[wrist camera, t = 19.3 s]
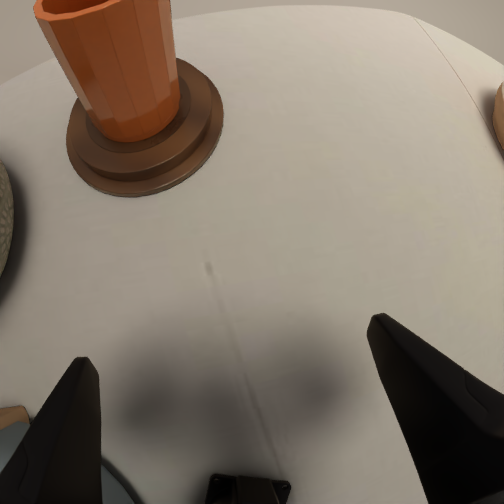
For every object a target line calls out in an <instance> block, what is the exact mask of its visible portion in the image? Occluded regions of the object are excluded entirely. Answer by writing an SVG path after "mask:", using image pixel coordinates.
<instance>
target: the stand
mask: <svg viewBox="0 0 504 504" xmlns="http://www.w3.org/2000/svg"><path fill="white" fill-rule="evenodd" d="M176 62H177V70H178V78H179V87H180V95H181V101H180V106H179V109H178V112H177V114H176V115H175V117H174V118H173V120H172V121H171V122H170V123H169V124H168V125H167V126H166V127H165V128H164V129H163V130H161V131H160V132H159V133H157V134H155V135H153V136H151V137H149V138H147V139H144V140H141V141H137V142H128V143H124V142H117V141H113V140H110V139H108V138H106V137H105V136H103V135H102V134H101V133H100V132H99V131H98V129H97V128H96V127H95V125H94V123H93V122H92V120H91V118H90V117H89V115H88V113H87V112H86V110H85V108H84V106H83V105H82V103H81V101H80V100H79V98H77V100H76V102H75V104H74V106H73V108H72V112H71V115H70V120H69V124H68V128H67V135H66V146H67V153H68V156H69V159H70V162H71V164H72V166H73V168H74V169H75V171H76V172H77V173H78V175H79V176H80V177H81V178H82V179H83V180H84V181H85V182H87V183H88V184H89V185H90V186H92V187H94V188H95V189H97V190H99V191H101V192H104V193H107V194H111V195H114V196H122V197H137V196H145V195H150V194H154V193H158V192H160V191H163V190H166V189H168V188H171V187H173V186H174V185H176V184H178V183H180V182H182V181H183V180H185V179H186V178H188V177H189V176H191V175H192V174H193V173H194V172H195V171H197V170H198V169H199V168H200V167H201V166H202V165H203V164H204V163H205V161H206V160H207V159H208V158H209V156H210V155H211V153H212V152H213V150H214V149H215V147H216V145H217V143H218V140H219V138H220V135H221V131H222V126H223V113H224V112H223V104H222V100H221V97H220V94H219V92H218V90H217V88H216V87H215V85H214V84H213V83H212V81H211V80H210V79H209V78H208V77H207V76H206V75H204V74H203V73H202V72H200V71H199V70H197V69H196V68H195V67H194V66H192V65H191V64H189V63H187V62H186V61H184V60H181V59H178V58H176Z"/></svg>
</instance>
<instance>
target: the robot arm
mask: <svg viewBox="0 0 504 504" xmlns="http://www.w3.org/2000/svg"><path fill="white" fill-rule="evenodd" d="M367 339H368V342H369V345H370V348H371V351H372V355H373V358H374V361H375V364H376V368H377V371H378V374H379V377H380V379H381V382H382V384H383V386H384V389H385V391H386V394H387V396H388V398H389V401H390V403H391V405H392V408H393V410H394V413H395V415H396V418H397V420H398V423H399V425H400V428H401V430H402V433H403V435H404V438H405V440H406V443H407V445H408V448H409V451H410V453H411V456H412V459H413V461H414V464H415V467H416V469H417V472H418V475H419V478H420V481H421V484H422V486H423V489H424V492H425V495H426V498H427V501H428V504H504V395H503V394H502V393H500V392H498V391H497V390H495V389H493V388H492V387H490V386H488V385H487V384H485V383H484V382H482V381H481V380H479V379H478V378H476V377H475V376H473V375H472V374H471V373H469V372H468V371H466V370H464V369H463V368H462V367H461V366H459V365H458V364H457V363H455V362H454V361H452V360H451V359H450V358H448V357H447V356H445V355H444V354H443V353H441V352H440V351H438V350H437V349H436V348H434V347H433V346H431V345H430V344H428V343H427V342H426V341H424V340H423V339H421V338H420V337H419V336H417V335H416V334H414V333H413V332H411V331H410V330H409V329H407V328H406V327H404V326H403V325H401V324H400V323H399V322H397V321H396V320H394V319H393V318H391V317H390V316H388V315H387V314H385V313H380V314H376V315H373V316H372V318H371V321H370V324H369V327H368V330H367ZM214 479H219V481H214ZM283 486H287V487H285V488H282V487H283ZM290 490H291V485H290V483H289V482H288V481H277V480H270V479H266V478H255V477H246V476H238V477H235V476H228V475H221V474H213V475H212V476H211V477H210V480H209V485H208V490H207V495H206V499H205V504H286V502H287V499H288V496H289V493H290ZM0 504H103V501H102V482H101V406H100V388H99V375H98V372H97V370H96V369H95V367H94V366H93V364H92V363H91V361H90V359H89V358H87V357H77V358H75V359H74V360H73V362H72V363H71V364H70V366H69V367H68V369H67V370H66V372H65V373H64V375H63V376H62V377H61V379H60V380H59V382H58V383H57V385H56V386H55V388H54V389H53V391H52V392H51V394H50V395H49V397H48V398H47V400H46V401H45V403H44V405H43V406H42V408H41V409H40V411H39V412H38V414H37V415H36V417H35V419H34V420H33V422H32V423H31V425H30V427H29V428H28V430H27V432H26V433H25V435H24V437H23V438H22V441H20V443H19V445H18V446H17V448H16V450H15V451H14V453H13V455H12V456H11V458H10V459H9V461H8V462H7V464H6V465H5V467H4V468H3V470H2V471H1V473H0Z"/></svg>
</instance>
